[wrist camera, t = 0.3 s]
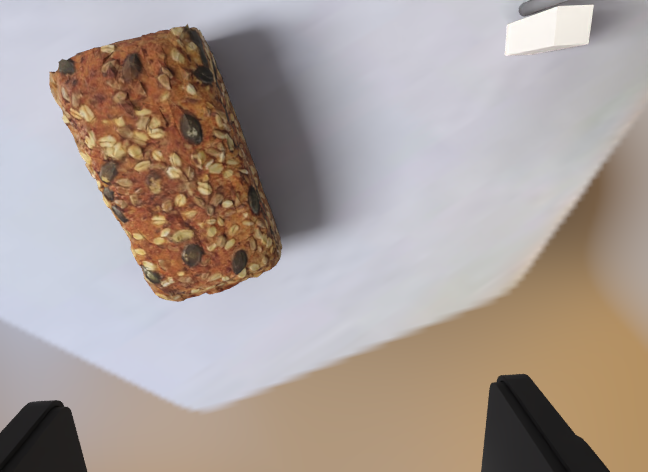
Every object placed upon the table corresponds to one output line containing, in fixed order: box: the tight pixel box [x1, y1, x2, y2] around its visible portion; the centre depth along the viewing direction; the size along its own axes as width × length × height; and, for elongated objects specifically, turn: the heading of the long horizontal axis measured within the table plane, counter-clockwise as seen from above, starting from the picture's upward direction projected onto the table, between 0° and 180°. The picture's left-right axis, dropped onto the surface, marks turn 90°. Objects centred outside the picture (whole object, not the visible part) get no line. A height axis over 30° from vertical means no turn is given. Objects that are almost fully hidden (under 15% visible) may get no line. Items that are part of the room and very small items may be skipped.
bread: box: [49, 24, 282, 302], centre depth 33 cm, size 19×11×10 cm, turn 17°
